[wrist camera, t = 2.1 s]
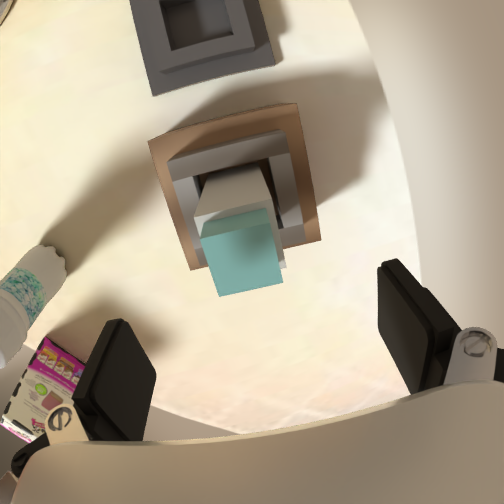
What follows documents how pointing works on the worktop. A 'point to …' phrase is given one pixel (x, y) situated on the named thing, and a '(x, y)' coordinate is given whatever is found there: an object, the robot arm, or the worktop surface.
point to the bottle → (27, 296)
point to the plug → (239, 230)
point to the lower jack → (199, 40)
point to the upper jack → (234, 155)
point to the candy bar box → (41, 390)
